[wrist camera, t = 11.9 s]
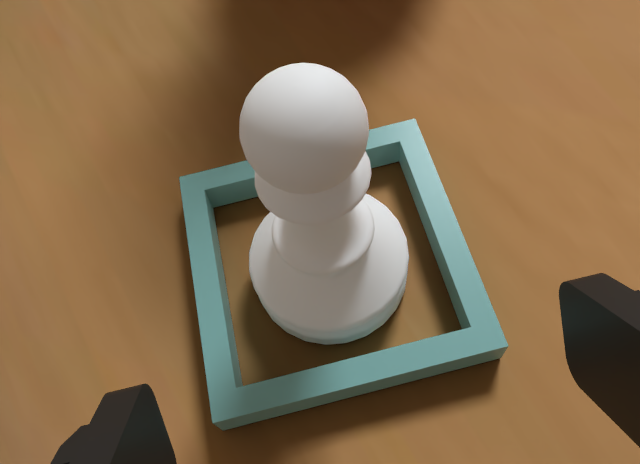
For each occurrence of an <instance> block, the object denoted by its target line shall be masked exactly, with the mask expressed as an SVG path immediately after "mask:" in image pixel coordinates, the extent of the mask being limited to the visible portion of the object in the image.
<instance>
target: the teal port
mask: <svg viewBox="0 0 640 464" xmlns="http://www.w3.org/2000/svg"><path fill="white" fill-rule="evenodd" d="M365 151H366V153H367V155H368V157H369V160H370V165H371V168H374V167H378V166H382V165H386V164H390V163H394V162H398V161H399V162H400V165H401V168H402V170H403V173H404V176H405V178H406V181H407V184H408V186H409V189H410V192H411V194H412V197H413V200H414V202H415V205H416V208H417V210H418V213H419V216H420V218H421V221H422V224H423V226H424V229H425V232H426V235H427V237H428V240H429V243H430V245H431V248H432V251H433V253H434V256H435V259H436V261H437V264H438V267H439V269H440V272H441V275H442V277H443V280H444V283H445V285H446V288H447V291H448V293H449V296H450V299H451V301H452V304H453V307H454V309H455V312H456V315H457V317H458V320H459V323H460V325H461V328H462V330H458V331H454V332H450V333H446V334H442V335H438V336H435V337H431V338H427V339H423V340H419V341H415V342H411V343H407V344H404V345H400V346H396V347H392V348H388V349H384V350H380V351H377V352H373V353H369V354H365V355H361V356H357V357H353V358H350V359H346V360H342V361H338V362H334V363H330V364H326V365H323V366H319V367H315V368H311V369H307V370H303V371H299V372H296V373H292V374H288V375H284V376H280V377H276V378H272V379H269V380H265V381H261V382H257V383H253V384H249V385H245V386H243V384H242V378H241V372H240V366H239V360H238V354H237V348H236V342H235V336H234V330H233V324H232V318H231V312H230V306H229V300H228V294H227V288H226V282H225V276H224V270H223V264H222V258H221V252H220V246H219V240H218V234H217V228H216V222H215V216H214V210H213V208H214V207H218V206H222V205H226V204H230V203H234V202H238V201H242V200H246V199H250V198H254V197H258V194H257V191H256V188H255V171H254V169H253V168H252V166H251V165H250V164H249V162H248V161H247V160H246V161H242V162H238V163H234V164H230V165H226V166H222V167H218V168H214V169H210V170H206V171H202V172H198V173H194V174H190V175H185V176H181V177H179V180H180V188H181V195H182V202H183V210H184V217H185V224H186V232H187V239H188V247H189V254H190V261H191V269H192V276H193V283H194V291H195V298H196V306H197V313H198V320H199V328H200V335H201V342H202V350H203V357H204V364H205V372H206V379H207V387H208V394H209V401H210V409H211V416H212V423H213V424H214V425H216V426H217V427H218V428H220V429H221V430H223V431H224V430H227V429H231V428H235V427H239V426H243V425H247V424H250V423H254V422H258V421H262V420H266V419H270V418H273V417H277V416H281V415H285V414H289V413H292V412H296V411H300V410H304V409H308V408H312V407H315V406H319V405H323V404H327V403H331V402H335V401H338V400H342V399H346V398H350V397H354V396H358V395H361V394H365V393H369V392H373V391H377V390H381V389H384V388H388V387H392V386H396V385H400V384H404V383H407V382H411V381H415V380H419V379H423V378H426V377H430V376H434V375H438V374H442V373H446V372H449V371H453V370H457V369H461V368H465V367H469V366H472V365H476V364H480V363H484V362H488V361H492V360H495V359H499V358H501V357H502V355H503V354H504V352H505V351H506V349H507V347H508V344H507V341H506V339H505V337H504V334H503V332H502V329H501V327H500V324H499V322H498V320H497V317H496V315H495V312H494V310H493V307H492V305H491V302H490V300H489V298H488V295H487V293H486V290H485V288H484V285H483V283H482V281H481V278H480V276H479V273H478V271H477V268H476V266H475V263H474V261H473V259H472V256H471V254H470V251H469V249H468V246H467V244H466V242H465V239H464V237H463V234H462V232H461V229H460V227H459V224H458V222H457V220H456V217H455V215H454V212H453V210H452V207H451V205H450V203H449V200H448V198H447V195H446V193H445V190H444V188H443V185H442V183H441V181H440V178H439V176H438V173H437V171H436V168H435V166H434V164H433V161H432V159H431V156H430V154H429V151H428V149H427V146H426V144H425V142H424V139H423V137H422V134H421V132H420V129H419V127H418V125H417V122H416V120H415V119H411V120H407V121H403V122H399V123H395V124H391V125H387V126H383V127H379V128H375V129H371V130H369V136H368V141H367V146H366V150H365Z"/></svg>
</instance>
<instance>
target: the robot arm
mask: <svg viewBox="0 0 640 464" xmlns="http://www.w3.org/2000/svg"><path fill="white" fill-rule="evenodd" d="M559 300H560V309H561V318H562V326H563V335H564V344H565V352H566V359H567V363H568V366H569V369H570V372H571V374H572V376H573V378H574V380H575V381H576V383H577V385H578V386H579V387H580V388H581V389H582V390H583V391H584V392H585V393H586V394H587V395H588V396H589V397H590V398H591V399H592V400H593V401H594V402H595V403H596V404H597V405H598V406H599V407H600V408H601V409H602V410H603V411H604V412H605V413H606V414H607V415H608V416H609V417H610V418H611V419H612V420H613V421H614V422H615V423H616V424H617V425H618V426H619V427H620V428H621V429H622V430H623V431H624V432H625V433H626V434H627V435H628V436H629V437H630V438H631V439H632V440H633V441H634V442H635V443H636V444H637V445H638V446H639V447H640V291H639V290H637V291H634V290H632V289H630V288H629V287H627V286H625V285H623V284H622V283H620V282H618V281H617V280H615V279H613V278H611V277H610V276H608V275H606V274H604V273H599V274H595V275H591V276H586V277H582V278H578V279H574V280H570V281H566V282H563V283H562V284H561V285H560V289H559ZM51 464H177V463H176V458H175V454H174V451H173V448H172V445H171V442H170V439H169V436H168V433H167V430H166V427H165V424H164V422H163V419H162V416H161V413H160V410H159V407H158V404H157V401H156V398H155V396H154V393H153V391H152V389H151V387H150V386H149V385H148V384H142V385H137V386H133V387H129V388H125V389H121V390H117V391H113V392H109V393H106V394H105V395H104V397H103V398H102V400H101V402H100V404H99V406H98V408H97V410H96V412H95V414H94V416H93V418H92V420H91V422H90V424H88V425H84V426H81V427H80V428H79V429H78V430H77V431H76V432H75V433H74V434H73V435H72V436H71V437H70V438H68V439H67V440H66V441H65V442H64V443H63V444H62V445H61V446H60V448H59V449H58V451H57V453H56V455H55V457H54V458H53V460H52V462H51Z"/></svg>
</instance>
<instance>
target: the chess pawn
mask: <svg viewBox="0 0 640 464" xmlns="http://www.w3.org/2000/svg"><path fill="white" fill-rule="evenodd" d="M368 136H369V124H368V116H367V110H366V107H365V105H364V103H363V101H362V99H361V97H360V95H359V93H358V91H357V90H356V88H355V87H354V86H353V85H352V84H351V83H350V82H349V81H348V80H347V79H346V78H345V77H344V76H343V75H341V74H339V73H338V72H336V71H334V70H333V69H331V68H328V67H325V66H322V65H319V64H313V63H295V64H289V65H286V66H283V67H280V68H277V69H275V70H274V71H272V72H270V73H268V74H266V75H265V76H264V77H263V78H262V79H261V80H260V81H258V82H257V83H256V84H255V85H254V87H253V88H252V90H251V91H250V93H249V94H248V96H247V97H246V99H245V102H244V105H243V108H242V111H241V114H240V120H239V137H240V142H241V145H242V148H243V151H244V154H245V157H246V159H247V161H248V162H249V164H250V165H251V166H252V168H253V169H254V171H255V188H256V191H257V194H258V197H259V199H260V200H261V202H262V203H263V204H264V206H265V207H266V208H267V209H268V210H269V211H270V213H269V214H268V215H267V216H266V217H265V218H264V219H263V221H262V223H261V224H260V226H259V227H258V229H257V231H256V232H255V234H254V238H253V241H252V244H251V248H250V251H249V273H250V276H251V279H252V283H253V286H254V290H255V291H256V293H257V294H258V296H259V299H260V301H261V303H262V305H263V306H264V308H265V309H266V311H267V313H268V314H269V316H270V317H271V319H272V320H273V321H274V322H275V323H276V324H278V325H279V326H280V327H281V328H282V329H283V330H285V331H286V332H287V333H289V334H291V335H293V336H295V337H297V338H300V339H302V340H304V341H307V342H313V343H318V344H324V345H329V344H341V343H348V342H351V341H354V340H357V339H360V338H362V337H365V336H367V335H369V334H370V333H372V332H373V331H375V330H376V329H378V328H379V327H381V326H382V325H383V324H384V323H385V322H386V321H387V320H388V319H389V317H390V316H391V315H392V314H393V313H394V312H395V310H396V309H397V307H398V305H399V303H400V301H401V298H402V296H403V294H404V292H405V286H406V279H407V272H408V261H409V253H408V246H407V239H406V236H405V234H404V232H403V230H402V227H401V225H400V223H399V221H398V220H397V218H396V217H395V216H394V215H393V214H392V213H391V211H390V210H389V209H388V208H387V207H386V206H385V205H384V204H382V203H381V202H379V201H378V200H376V199H375V198H373V197H372V196H370V195H368V194H365V193H366V192H367V190H368V188H369V184H370V179H371V174H372V173H371V165H370V160H369V157H368V155H367V153H366V151H365V150H366V146H367V141H368Z"/></svg>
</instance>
